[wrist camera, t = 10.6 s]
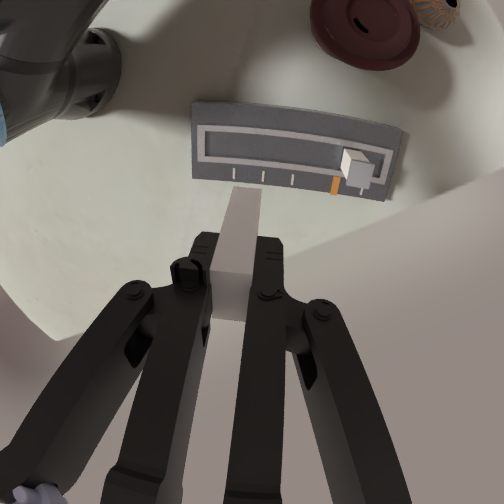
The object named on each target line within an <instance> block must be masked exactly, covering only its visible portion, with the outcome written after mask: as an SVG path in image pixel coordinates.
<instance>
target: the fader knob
mask: <svg viewBox="0 0 504 504" xmlns="http://www.w3.org/2000/svg"><path fill="white" fill-rule="evenodd" d="M374 166H375V164H374V163H370V162H369V161H368V159H367V158H366V157H365V156H364V154H363V153H362V152H361V151H356V150H351V149H345V148H344V152H343V157H342V162H341V167H340V168H341V170H342V172H343V174H344V176H345V178H346V185H347V186H352V187H358V188H363V189H369V186H370V182H371V178H372V174H373V170H374Z"/></svg>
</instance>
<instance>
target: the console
mask: <svg viewBox="0 0 504 504" xmlns="http://www.w3.org/2000/svg"><path fill="white" fill-rule="evenodd" d="M402 133H403V131H401V130H400V129H398V128H396V127H392V126H388V125H384V124H380V123H376V122H372V121H368V120H363V119H359V118H354V117H349V116H344V115H339V114H334V113H328V112H322V111H316V110H309V109H302V108H295V107H287V106H278V105H267V104H256V103H241V102H216V101H195V102H193V103H191V141H192V179H207V180H220V181H233V182H244V183H254V184H264V185H273V186H282V187H291V188H299V189H306V190H314V191H321V192H328V193H330V194H331V195H337V194H341V195H347V196H354V197H360V198H366V199H371V200H377V201H382V202H384V201H385V197H386V194H387V191H388V187H389V184H390V180H391V177H392V173H393V169H394V166H395V162H396V158H397V154H398V150H399V146H400V142H401V137H402ZM344 148H345V149H351V150H356V151H361V152H362V153H363V154H364V156H365V157H366V158H367V159H368V161H369V162H370V163H374V164H375V166H374V170H373V174H372V178H371V182H370V186H369V189H363V188H358V187H352V186H347V185H346V178H345V176H344V174H343V172H342V170H341V168H340V167H341V162H342V157H343V152H344Z"/></svg>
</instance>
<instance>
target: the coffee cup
mask: <svg viewBox="0 0 504 504" xmlns="http://www.w3.org/2000/svg"><path fill="white" fill-rule="evenodd" d="M310 20H311V29H312V34H313V38H314V40H315V42H316V44H317V45H318V47H319V48H320V49H321V50H322V51H324V52H325V53H327V54H328V55H330V56H332V57H334V58H336V59H339V60H341V61H342V62H344V63H346V64H348V65H351V66H353V67H356V68H360V69H365V70H373V71H384V70H390V69H394V68H397V67H399V66H401V65H403V64H404V63H405V62H407V61H408V60H409V59H410V58H411V57H412V56H413V54H414V53H415V51H416V49H417V47H418V44H419V39H420V26H419V22H418V18H417V15H416V13H415V10H414V9H413V7H412V5H411V4H410V2H409V1H408V0H312V2H311V6H310Z"/></svg>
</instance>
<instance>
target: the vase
mask: <svg viewBox="0 0 504 504" xmlns="http://www.w3.org/2000/svg"><path fill="white" fill-rule="evenodd" d="M408 1H409V2H410V4H411V5H412V7H413V9H414V10H415V13H416V15H417V18H418V22H419V23H420V24H422V25H424V26H426V27H429V28H433V29H445V28H448V27H450V26H452V25H453V24H455V23H456V21H457V20H458V18H459V7H460V3H459V0H408Z"/></svg>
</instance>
